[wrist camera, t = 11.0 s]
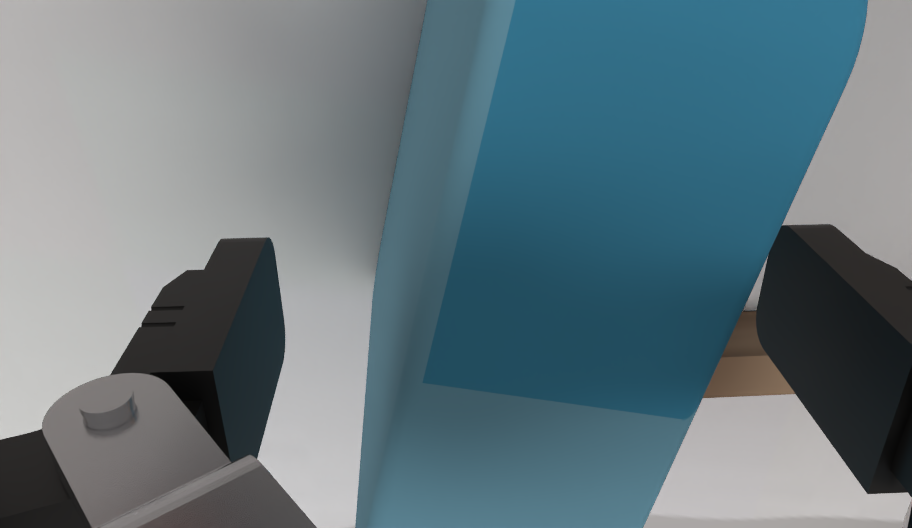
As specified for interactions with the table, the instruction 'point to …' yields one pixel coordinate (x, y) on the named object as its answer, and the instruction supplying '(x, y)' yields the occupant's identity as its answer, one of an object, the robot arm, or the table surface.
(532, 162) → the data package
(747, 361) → the walnut u-shaped frame
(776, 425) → the table surface
